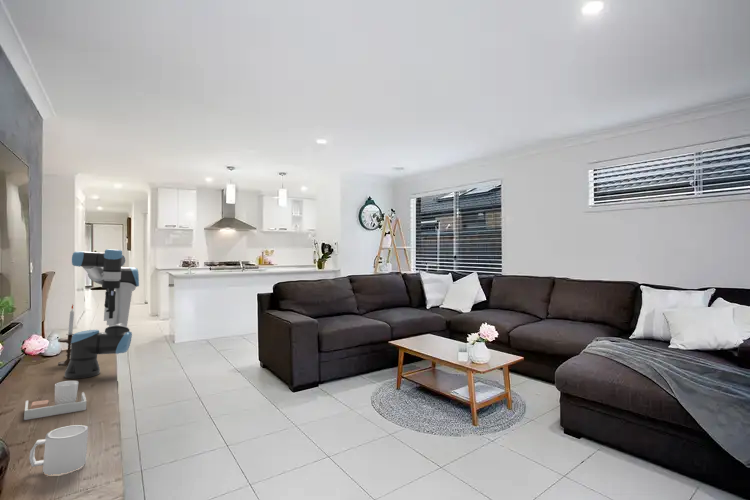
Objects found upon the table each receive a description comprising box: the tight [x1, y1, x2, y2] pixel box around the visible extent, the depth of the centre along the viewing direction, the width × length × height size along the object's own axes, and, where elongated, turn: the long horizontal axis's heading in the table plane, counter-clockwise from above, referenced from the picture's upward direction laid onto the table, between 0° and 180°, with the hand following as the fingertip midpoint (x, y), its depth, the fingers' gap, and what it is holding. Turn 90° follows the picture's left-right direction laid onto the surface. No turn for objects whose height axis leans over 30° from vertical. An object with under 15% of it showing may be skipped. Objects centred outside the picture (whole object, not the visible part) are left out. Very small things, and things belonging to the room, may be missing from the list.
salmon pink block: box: [30, 399, 50, 409], centre depth 157 cm, size 5×5×4 cm
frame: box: [23, 392, 88, 421], centre depth 160 cm, size 13×19×4 cm
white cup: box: [54, 380, 80, 406], centre depth 163 cm, size 8×8×10 cm
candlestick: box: [57, 303, 75, 366], centre depth 228 cm, size 11×11×35 cm
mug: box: [28, 424, 89, 475], centre depth 117 cm, size 14×10×11 cm
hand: (108, 322), depth 193 cm, fingers open, 13 cm apart
